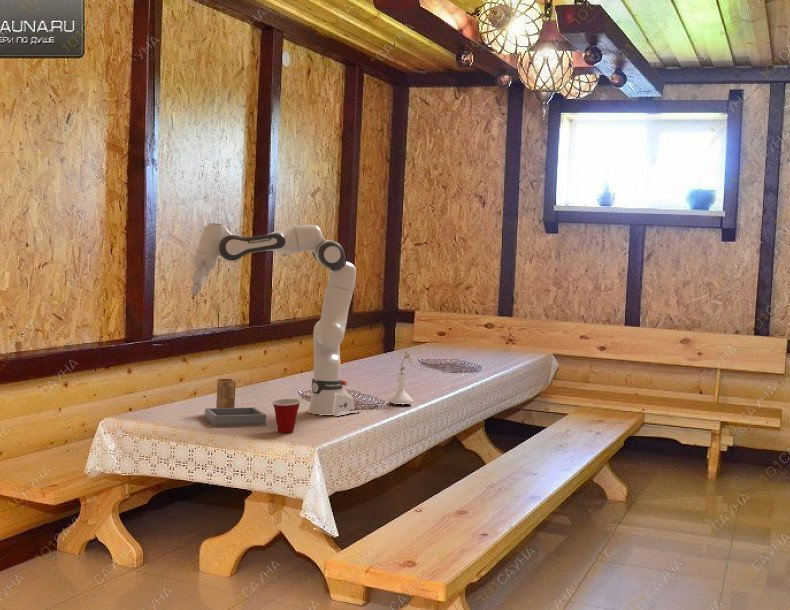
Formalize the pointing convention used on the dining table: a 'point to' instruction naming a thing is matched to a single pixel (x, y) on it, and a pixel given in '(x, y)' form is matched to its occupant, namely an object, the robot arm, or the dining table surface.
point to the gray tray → (235, 416)
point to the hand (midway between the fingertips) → (193, 294)
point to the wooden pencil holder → (225, 393)
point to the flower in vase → (401, 385)
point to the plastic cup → (286, 414)
